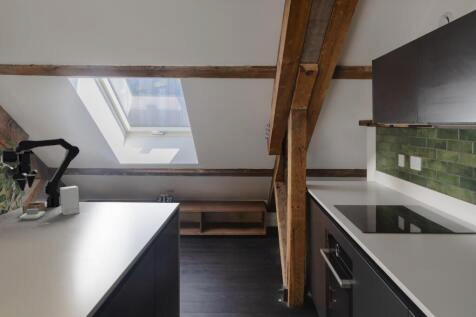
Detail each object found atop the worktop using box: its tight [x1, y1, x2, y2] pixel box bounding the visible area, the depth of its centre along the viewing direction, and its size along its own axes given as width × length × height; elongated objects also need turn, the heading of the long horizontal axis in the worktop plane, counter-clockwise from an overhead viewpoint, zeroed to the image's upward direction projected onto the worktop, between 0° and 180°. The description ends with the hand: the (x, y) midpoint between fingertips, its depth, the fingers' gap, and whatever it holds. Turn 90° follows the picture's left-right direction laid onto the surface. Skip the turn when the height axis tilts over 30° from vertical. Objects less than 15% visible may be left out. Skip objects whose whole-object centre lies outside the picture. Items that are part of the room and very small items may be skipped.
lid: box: [19, 208, 46, 219], centre depth 167 cm, size 9×9×4 cm
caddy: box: [22, 201, 46, 215], centre depth 175 cm, size 8×8×5 cm
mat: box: [18, 210, 54, 221], centre depth 171 cm, size 11×16×1 cm
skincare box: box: [59, 185, 81, 216], centre depth 176 cm, size 8×6×15 cm
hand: (26, 189), depth 182 cm, fingers open, 9 cm apart
